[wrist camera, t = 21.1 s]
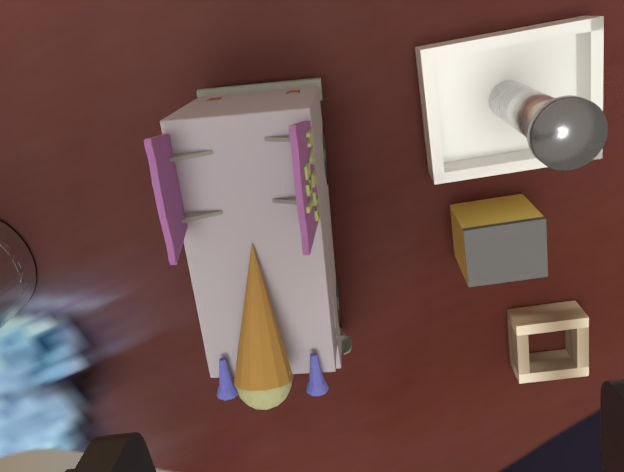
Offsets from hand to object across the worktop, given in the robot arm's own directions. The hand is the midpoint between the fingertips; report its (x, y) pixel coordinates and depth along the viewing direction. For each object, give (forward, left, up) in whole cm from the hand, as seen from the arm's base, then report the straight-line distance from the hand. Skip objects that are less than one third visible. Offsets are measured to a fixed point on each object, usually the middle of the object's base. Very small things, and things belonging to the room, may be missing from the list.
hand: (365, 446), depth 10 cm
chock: (+8, -9, -30) cm, 33 cm away
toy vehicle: (-6, -6, -30) cm, 32 cm away
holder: (+12, -18, -30) cm, 37 cm away
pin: (+10, 0, -30) cm, 31 cm away
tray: (+10, 0, -30) cm, 32 cm away
